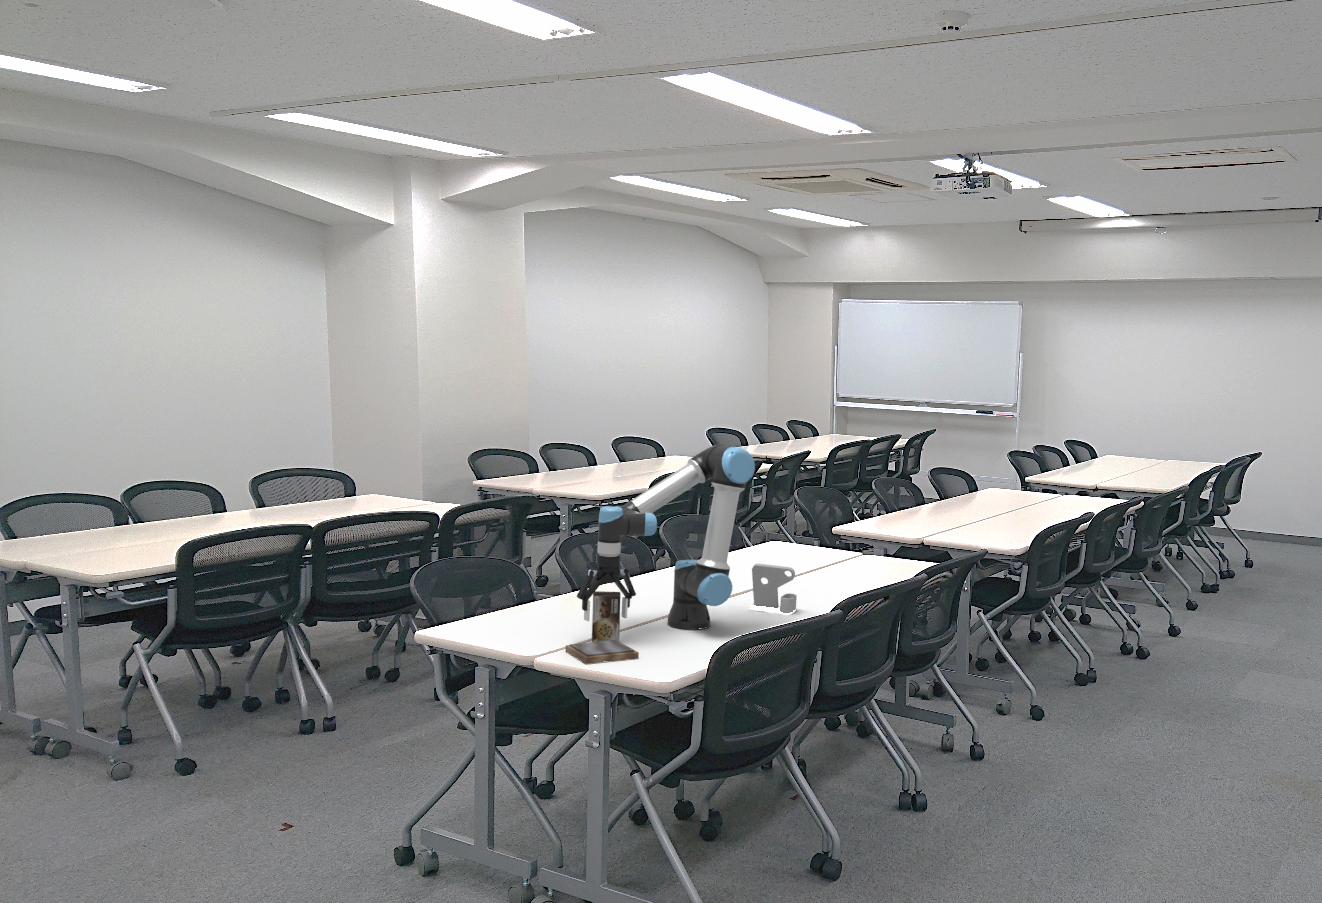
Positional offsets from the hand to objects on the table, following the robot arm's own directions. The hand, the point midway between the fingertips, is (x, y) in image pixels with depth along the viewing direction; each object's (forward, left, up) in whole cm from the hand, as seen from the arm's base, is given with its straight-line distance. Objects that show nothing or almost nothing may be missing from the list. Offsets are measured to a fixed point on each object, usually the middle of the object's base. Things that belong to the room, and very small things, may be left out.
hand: (605, 619), depth 352 cm
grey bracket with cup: (-80, -20, -8) cm, 83 cm away
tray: (+8, +14, -8) cm, 18 cm away
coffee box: (0, 0, -8) cm, 8 cm away
